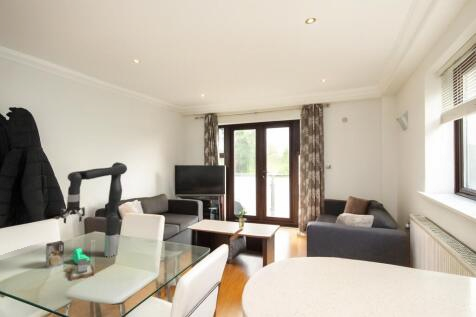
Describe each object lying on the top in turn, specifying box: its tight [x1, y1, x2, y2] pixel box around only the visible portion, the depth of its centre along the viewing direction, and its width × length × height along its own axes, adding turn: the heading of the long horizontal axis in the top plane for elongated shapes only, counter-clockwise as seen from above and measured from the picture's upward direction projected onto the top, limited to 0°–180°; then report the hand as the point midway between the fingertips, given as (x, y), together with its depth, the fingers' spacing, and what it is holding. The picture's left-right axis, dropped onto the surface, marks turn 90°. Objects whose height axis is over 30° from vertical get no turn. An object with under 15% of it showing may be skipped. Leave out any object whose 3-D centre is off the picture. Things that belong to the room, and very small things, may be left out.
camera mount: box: [71, 247, 90, 265], centre depth 182 cm, size 12×8×10 cm, turn 56°
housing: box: [77, 258, 89, 274], centre depth 165 cm, size 5×8×6 cm, turn 37°
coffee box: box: [45, 240, 65, 269], centre depth 173 cm, size 9×6×16 cm
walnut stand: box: [69, 264, 95, 282], centre depth 165 cm, size 13×13×2 cm
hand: (72, 222), depth 172 cm, fingers open, 8 cm apart
